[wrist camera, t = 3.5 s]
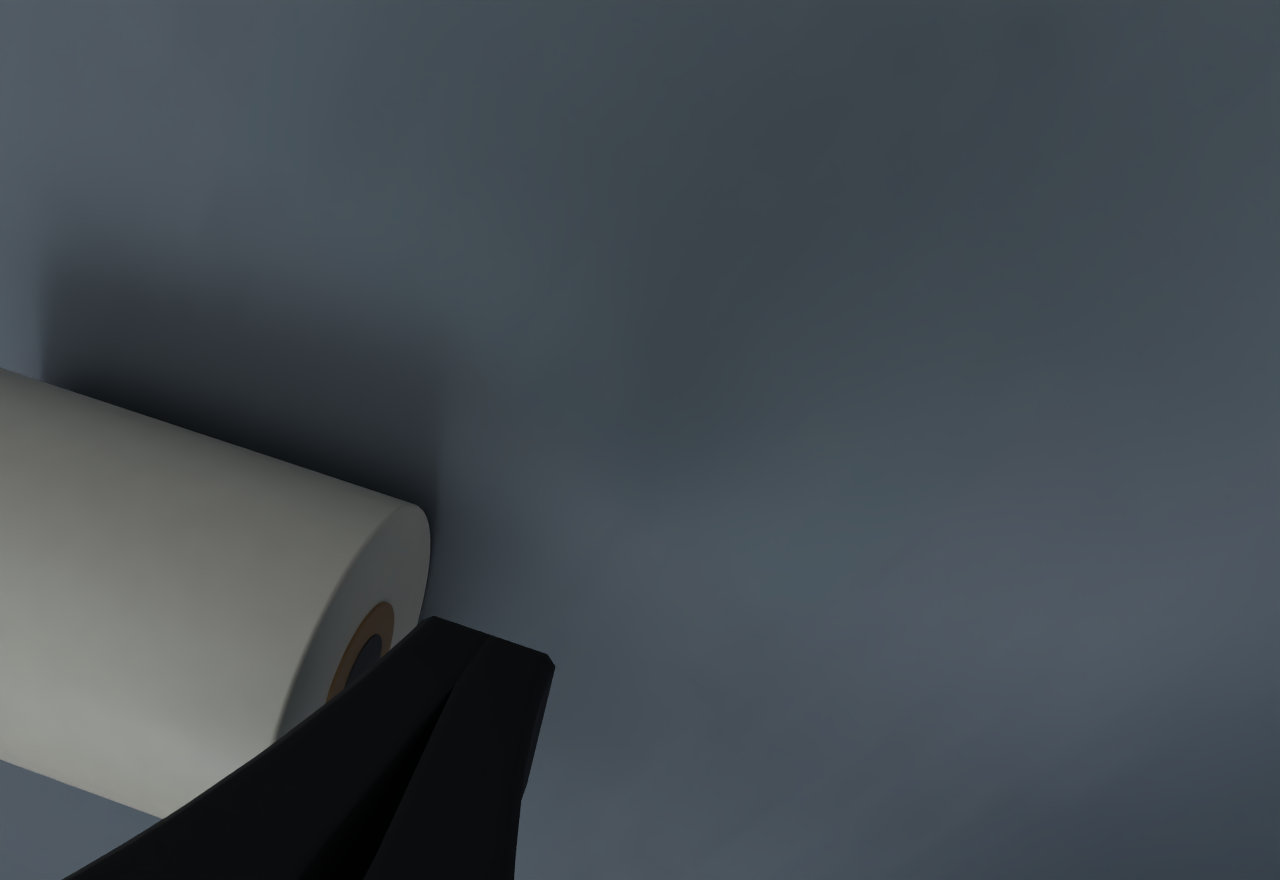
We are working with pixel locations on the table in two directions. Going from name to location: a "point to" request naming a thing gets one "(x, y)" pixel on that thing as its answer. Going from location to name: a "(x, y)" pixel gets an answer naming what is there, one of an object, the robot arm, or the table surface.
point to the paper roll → (178, 595)
